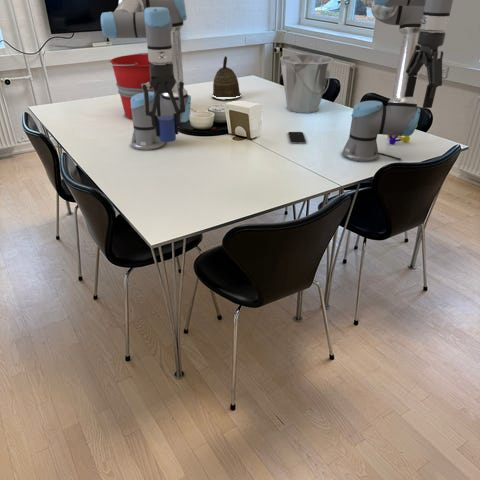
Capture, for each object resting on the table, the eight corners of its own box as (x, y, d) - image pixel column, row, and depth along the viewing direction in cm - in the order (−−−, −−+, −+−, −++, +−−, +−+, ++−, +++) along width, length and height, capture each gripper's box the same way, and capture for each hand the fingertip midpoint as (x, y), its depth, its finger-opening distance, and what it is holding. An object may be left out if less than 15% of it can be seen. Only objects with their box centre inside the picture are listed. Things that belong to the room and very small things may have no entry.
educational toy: (377, 146, 209) (379, 114, 202) (384, 138, 219) (386, 107, 211) (411, 149, 202) (415, 116, 195) (417, 141, 212) (420, 109, 204)
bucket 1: (124, 105, 264) (117, 51, 248) (182, 105, 263) (179, 51, 247) (107, 122, 235) (98, 62, 219) (173, 123, 234) (169, 63, 218)
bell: (227, 105, 294) (202, 96, 282) (238, 66, 289) (213, 55, 277) (243, 108, 280) (217, 98, 268) (255, 66, 275) (229, 55, 263)
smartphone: (290, 142, 209) (288, 131, 222) (290, 143, 209) (288, 133, 222) (306, 142, 209) (302, 131, 221) (305, 143, 209) (302, 133, 222)
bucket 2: (304, 119, 242) (309, 65, 227) (267, 107, 261) (268, 57, 246) (338, 109, 259) (345, 58, 244) (301, 99, 278) (304, 51, 263)
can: (176, 142, 150) (174, 120, 146) (158, 142, 150) (156, 120, 146) (176, 136, 155) (174, 115, 151) (159, 136, 155) (157, 115, 151)
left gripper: (132, 66, 134) (140, 140, 146) (193, 63, 139) (196, 134, 151) (129, 62, 140) (137, 133, 152) (187, 59, 145) (191, 128, 157)
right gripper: (403, 26, 144) (391, 92, 155) (441, 36, 123) (423, 113, 134) (425, 26, 145) (412, 92, 156) (466, 36, 124) (447, 112, 135)
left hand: (166, 134), depth 152 cm, fingers closed on can, 6 cm apart
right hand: (417, 102), depth 145 cm, fingers open, 13 cm apart
